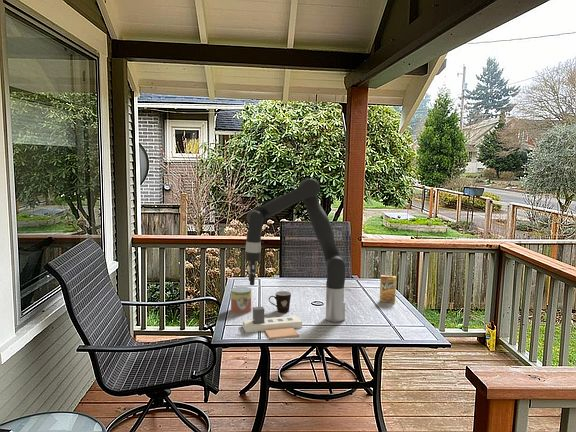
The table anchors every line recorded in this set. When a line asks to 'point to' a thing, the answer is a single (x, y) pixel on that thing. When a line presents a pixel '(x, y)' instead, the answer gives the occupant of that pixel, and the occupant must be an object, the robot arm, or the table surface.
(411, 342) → the table surface
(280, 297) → the coffee mug
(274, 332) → the mat
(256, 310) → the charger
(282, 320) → the power strip
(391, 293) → the candy box
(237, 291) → the canned food
